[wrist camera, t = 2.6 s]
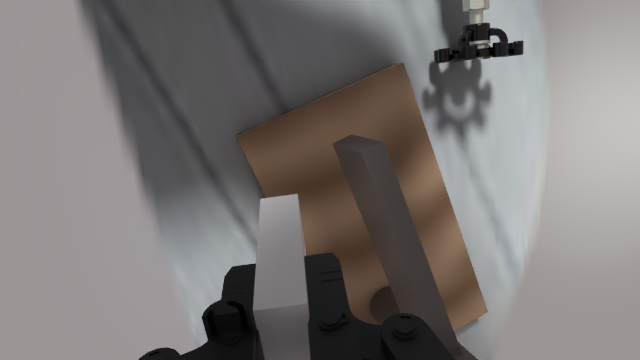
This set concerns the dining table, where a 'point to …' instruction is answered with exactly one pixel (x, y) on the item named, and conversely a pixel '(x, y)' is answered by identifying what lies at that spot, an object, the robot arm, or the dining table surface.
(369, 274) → the board
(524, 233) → the dining table surface
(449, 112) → the dining table surface
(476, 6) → the valve
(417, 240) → the dark piece
